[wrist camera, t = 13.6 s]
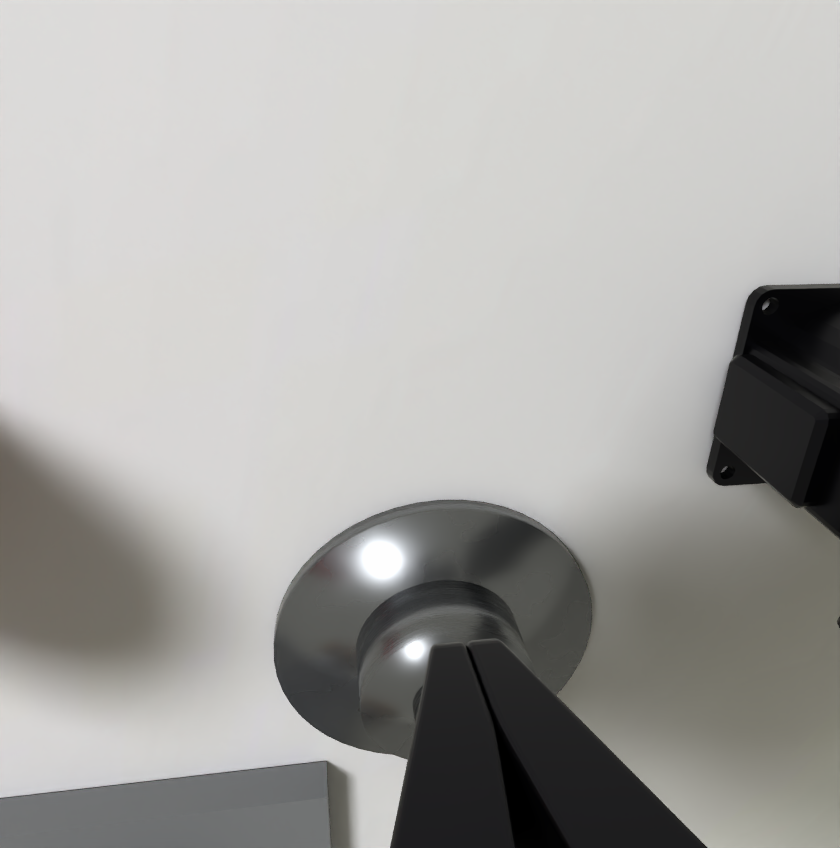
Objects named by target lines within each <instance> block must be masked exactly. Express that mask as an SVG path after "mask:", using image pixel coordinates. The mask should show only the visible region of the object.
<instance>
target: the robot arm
mask: <svg viewBox="0 0 840 848" xmlns="http://www.w3.org/2000/svg"><path fill="white" fill-rule="evenodd" d="M769 298H770V304H769V306H768V307H767V308H766V309H765V310H762V305H763V303H764V302H765V301H766V300H767V299H769ZM726 466H728V468H727V469H726V470H725V471H724V472H721V470H722V469H723V468H724V467H726ZM720 472H721V473H720ZM707 474H708V476H709V477H710V478H711V479H712V480H713V481H714V482H715V483H717V484H718V485H722V486H728V485H743V484H759V483H768V484H769V485H770V486H771V487H772V488H773V489H774V490H775V491H777V492H778V493H779V494H780V495H781V496H782V497H783V498H785V499H786V500H787V501H788V502H789V503H790V504H791V505H792V506H794V507H796V508H801V507H803V508H804V509H805V510H807V511H808V512H809V513H810V514H811V515H812V516H814V517H815V518H816V519H817V520H818V521H819V522H820V523H822V524H823V525H824V526H825V527H826V528H827V529H828V530H830V531H831V532H832V533H833V534H834V535H835V536H837V537H838V538H839V539H840V284H806V285H766V286H761V287H759V288H757V289H756V290H754V291H753V292H752V293H751V294H750V296H749V297H748V300H747V302H746V306H745V310H744V314H743V318H742V322H741V327H740V331H739V335H738V339H737V343H736V347H735V352H734V356H733V360H732V361H731V362H730V365H729V369H728V373H727V378H726V382H725V386H724V390H723V394H722V399H721V403H720V407H719V411H718V415H717V419H716V424H715V428H714V439H713V443H712V447H711V452H710V456H709V460H708V464H707ZM837 624H838V626H839V628H840V617H839V619H838V620H837ZM390 848H707V847H706V846H705V845H704V844H703V843H702V842H701V841H700V840H699V839H698V838H697V837H696V836H695V835H694V834H693V833H692V832H691V831H690V830H689V829H688V828H687V827H686V826H685V825H684V824H683V823H682V822H681V821H680V820H679V819H678V818H677V817H676V816H675V815H674V814H673V813H672V812H671V811H670V810H669V809H668V808H667V807H666V806H665V805H664V804H663V802H662V801H661V800H660V799H659V798H658V797H657V796H656V795H655V794H654V793H653V792H652V791H651V790H650V789H649V788H648V787H647V786H646V785H645V784H644V783H643V782H642V781H641V780H640V779H639V778H638V777H637V776H636V775H635V774H634V773H633V772H632V771H631V770H630V769H629V768H628V767H627V766H626V765H625V764H624V763H623V762H622V761H621V760H620V759H619V758H618V757H617V756H616V755H615V754H614V753H613V752H612V751H611V750H610V749H609V748H608V747H607V746H606V745H605V744H604V743H603V742H602V741H601V740H600V739H599V738H598V737H597V736H596V735H595V734H594V733H593V732H592V731H591V730H590V729H589V728H588V727H587V726H586V725H585V724H584V723H583V722H582V721H581V720H580V719H579V718H578V717H577V716H576V715H575V714H574V713H573V712H572V711H571V710H570V709H569V708H568V707H567V706H566V705H565V704H564V703H563V702H562V701H561V700H560V699H559V698H558V697H557V696H556V695H555V694H554V693H553V692H552V691H551V690H550V689H549V688H548V687H547V686H546V685H545V684H544V683H543V682H542V681H541V680H540V679H539V678H538V677H537V676H536V675H535V674H534V673H533V672H532V671H531V670H530V669H529V668H528V667H527V666H526V665H525V664H524V663H523V662H522V661H521V660H520V659H519V658H518V657H517V656H516V655H515V654H514V653H513V652H512V651H511V650H510V649H509V648H508V647H507V646H506V645H505V644H504V643H503V642H502V641H501V640H499V639H495V638H493V639H482V640H472V641H469V642H468V643H466V645H465V644H464V643H462V642H450V643H440V644H434V645H433V646H432V647H431V649H430V653H429V657H428V662H427V667H426V672H425V677H424V682H423V687H422V692H421V697H420V702H419V707H418V712H417V717H416V722H415V727H414V732H413V737H412V742H411V747H410V752H409V757H408V762H407V767H406V772H405V776H404V781H403V786H402V791H401V796H400V801H399V806H398V811H397V816H396V821H395V826H394V831H393V836H392V841H391V846H390Z"/></svg>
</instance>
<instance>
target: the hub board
mask: <svg viewBox="0 0 840 848" xmlns="http://www.w3.org/2000/svg"><path fill="white" fill-rule="evenodd" d="M0 848H331V831H330V814H329V797H328V780H327V763H326V761H323V762H315V763H306V764H297V765H289V766H280V767H271V768H263V769H254V770H245V771H237V772H228V773H219V774H211V775H202V776H193V777H185V778H176V779H167V780H158V781H150V782H141V783H132V784H124V785H115V786H106V787H98V788H89V789H80V790H72V791H63V792H54V793H46V794H37V795H28V796H20V797H11V798H2V799H0Z"/></svg>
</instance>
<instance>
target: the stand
mask: <svg viewBox="0 0 840 848" xmlns="http://www.w3.org/2000/svg"><path fill="white" fill-rule="evenodd" d="M591 620H592V609H591V599H590V595H589V591H588V587H587V584H586V581H585V579H584V577H583V575H582V573H581V570H580V569H579V567H578V565H577V563H576V561H575V560H574V558H573V557H572V555H571V554H570V552H569V551H568V549H567V548H566V546H565V545H564V544H563V543H562V542H561V541H560V540H559V539H558V538H557V537H556V536H555V535H554V534H553V533H552V532H551V531H549V530H548V529H547V528H545V527H544V526H543V525H541V524H540V523H538V522H536V521H535V520H533V519H531V518H529V517H527V516H525V515H524V514H521V513H519V512H516V511H513V510H511V509H508V508H505V507H502V506H498V505H493V504H489V503H485V502H477V501H467V500H437V501H428V502H420V503H414V504H410V505H406V506H402V507H397V508H394V509H391V510H388V511H385V512H382V513H379V514H377V515H374V516H371V517H369V518H367V519H365V520H363V521H361V522H359V523H357V524H355V525H353V526H351V527H350V528H348V529H346V530H345V531H343V532H342V533H340V534H338V535H337V536H335V537H334V538H333V539H331V540H330V541H329V542H328V543H326V544H325V545H324V546H323V547H321V548H320V549H319V550H318V551H317V552H316V553H315V554H314V555H313V556H312V557H311V558H310V559H309V560H308V561H307V562H306V563H305V564H304V565H303V567H302V568H301V569H300V571H299V572H298V573H297V575H296V576H295V578H294V579H293V580H292V582H291V584H290V586H289V587H288V589H287V591H286V593H285V595H284V597H283V600H282V602H281V605H280V608H279V611H278V614H277V620H276V626H275V634H274V662H275V668H276V673H277V677H278V680H279V682H280V685H281V687H282V690H283V692H284V694H285V695H286V697H287V699H288V700H289V702H290V703H291V705H292V706H293V707H294V708H295V710H296V711H297V712H298V713H299V714H300V715H301V716H302V717H303V718H304V719H305V720H306V721H307V722H308V723H310V724H311V725H312V726H313V727H315V728H316V729H318V730H319V731H321V732H322V733H324V734H325V735H327V736H329V737H331V738H333V739H335V740H337V741H339V742H341V743H344V744H347V745H350V746H353V747H356V748H359V749H363V750H367V751H372V752H376V753H384V754H392V755H396V756H399V757H402V758H404V759H408V757H409V752H410V747H411V742H412V737H413V732H414V727H415V722H416V717H417V712H418V707H419V702H420V697H421V692H422V687H423V682H424V677H425V672H426V667H427V662H428V657H429V653H430V649H431V647H432V646H433V645H434V644H440V643H450V642H462V643H464V644H465V645H466V643H468V642H469V641H472V640H482V639H493V638H495V639H499V640H501V641H502V642H503V643H504V644H505V645H506V646H507V647H508V648H509V649H510V650H511V651H512V652H513V653H514V654H515V655H516V656H517V657H518V658H519V659H520V660H521V661H522V662H523V663H524V664H525V665H526V666H527V667H528V668H529V669H530V670H531V671H532V672H533V673H534V674H535V675H536V676H537V677H538V678H539V679H540V680H541V681H542V682H543V683H544V684H545V685H546V686H547V687H548V688H549V689H550V690H551V691H552V692H553V693H554V694H555V695H556V694H557V693H558V692H559V691H560V690H561V689H562V688H563V686H564V685H565V684H566V683H567V681H568V680H569V679H570V677H571V676H572V674H573V673H574V671H575V669H576V668H577V666H578V664H579V662H580V661H581V658H582V656H583V653H584V651H585V649H586V646H587V643H588V639H589V635H590V631H591Z"/></svg>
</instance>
